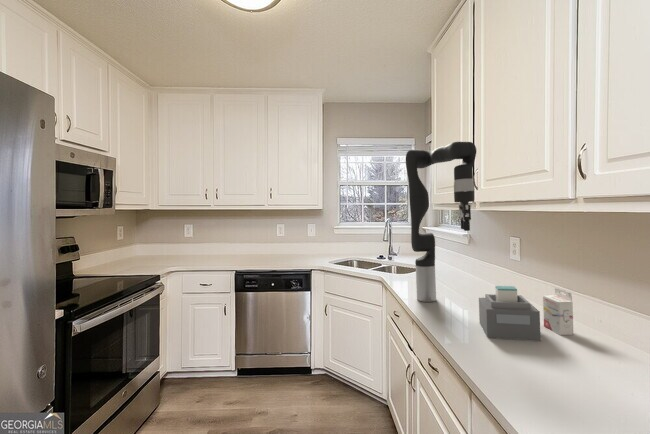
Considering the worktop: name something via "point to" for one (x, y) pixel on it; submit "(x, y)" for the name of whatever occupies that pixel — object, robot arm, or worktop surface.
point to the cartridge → (506, 294)
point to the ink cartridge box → (558, 312)
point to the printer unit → (509, 319)
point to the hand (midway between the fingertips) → (465, 229)
